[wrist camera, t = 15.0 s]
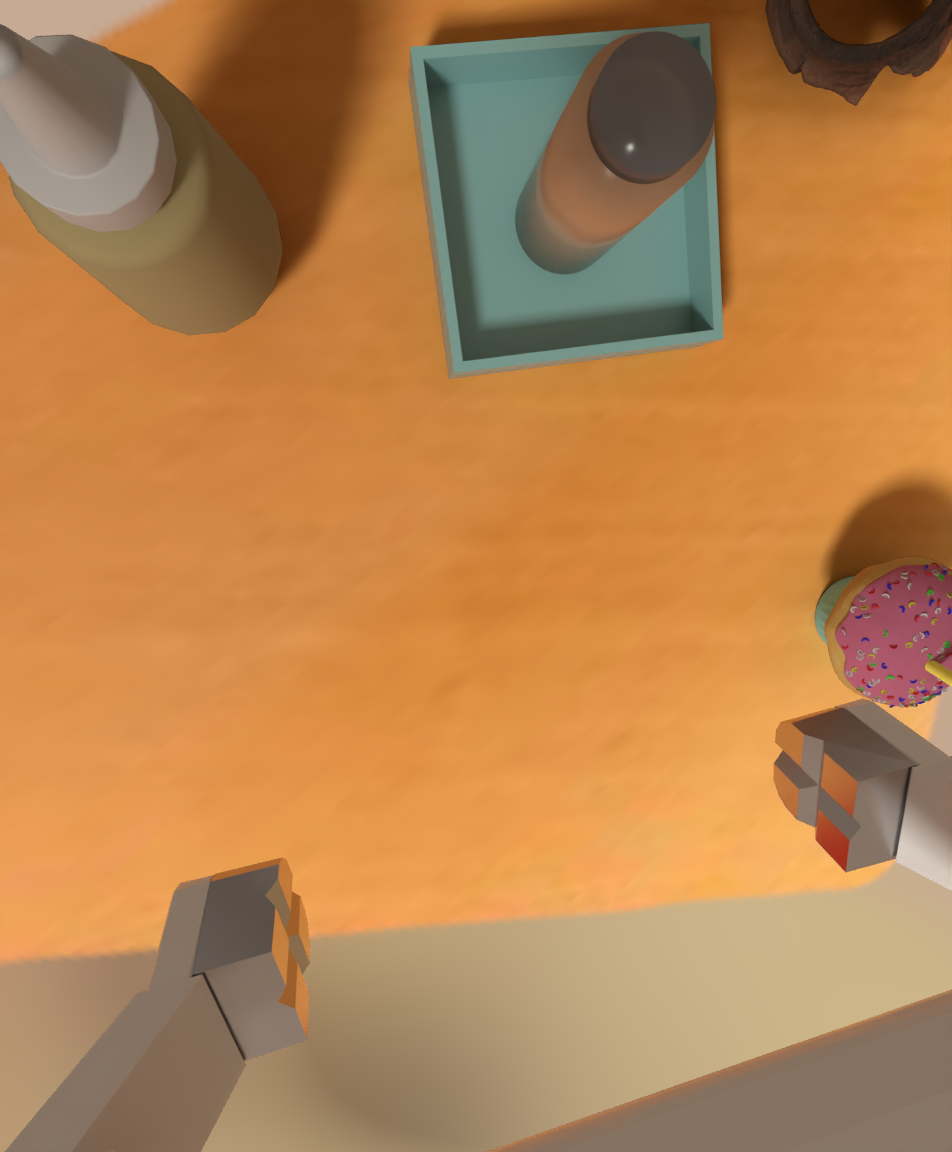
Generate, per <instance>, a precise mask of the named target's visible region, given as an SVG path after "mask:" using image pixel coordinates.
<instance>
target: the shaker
mask: <svg viewBox="0 0 952 1152" xmlns="http://www.w3.org/2000/svg"><path fill="white" fill-rule="evenodd" d="M715 109H716V95H715V87H714V82H713V79H712V76H711V73H710V70H709V68H708V66H707V64H706V62H705V61H704V59H703V57H702V56H701V55H700V53H699V52H698V51H697V50H696V49H695V48H694V47H693V46H692V45H691V44H690V43H688V42H687V41H686V40H684V39H683V38H681V37H679V36H677V35H674V34H671V33H668V32H661V31H651V32H638V33H632V34H628V35H625V36H622V37H620V38H618V39H616V40H614V41H612V42H610V43H609V44H607V45H606V46H605V47H603V48H602V49H601V50H600V51H599V52H598V53H597V54H596V55H595V56H594V57H593V59H592V60H591V61H590V62H589V64H588V66H587V67H586V69H585V70H584V72H583V74H582V76H581V78H580V80H579V82H578V84H577V86H576V88H575V90H574V91H573V93H572V95H571V97H570V99H569V101H568V103H567V105H566V107H565V109H564V111H563V113H562V115H561V117H560V118H559V120H558V122H557V124H556V126H555V128H554V130H553V132H552V134H551V136H550V138H549V140H548V142H547V143H546V145H545V147H544V149H543V151H542V153H541V155H540V157H539V159H538V161H537V163H536V165H535V167H534V169H533V170H532V172H531V174H530V176H529V178H528V180H527V182H526V184H525V186H524V188H523V190H522V192H521V194H520V196H519V199H518V202H517V206H516V211H515V227H516V233H517V236H518V240H519V242H520V244H521V247H522V248H523V250H524V252H525V253H526V254H527V256H528V257H529V258H530V259H531V260H532V261H533V262H534V263H535V264H536V265H538V266H539V267H540V268H542V269H544V270H546V271H549V272H551V273H555V274H563V275H565V274H574V273H578V272H580V271H583V270H585V269H587V268H588V267H590V266H591V265H593V264H594V263H595V262H596V261H597V260H599V259H600V258H601V257H602V256H603V255H604V254H605V253H607V252H608V251H609V250H610V249H611V248H612V247H613V246H615V245H616V244H617V243H618V242H619V241H620V240H622V239H623V238H624V237H625V236H626V235H627V234H628V233H630V232H631V231H632V230H633V229H634V228H635V227H636V226H638V225H639V224H640V223H641V222H642V221H643V220H645V219H646V218H647V217H648V216H649V215H650V214H651V213H653V212H654V211H655V210H656V209H657V208H658V207H660V206H661V205H662V204H663V203H664V202H665V201H666V200H668V199H669V198H670V197H671V196H672V195H673V194H674V193H676V192H677V191H678V190H679V189H680V188H681V187H683V186H684V185H685V184H686V183H687V182H688V181H689V180H690V179H691V178H692V177H693V176H694V175H695V174H696V172H697V171H698V170H699V168H700V167H701V165H702V164H703V162H704V160H705V158H706V156H707V154H708V152H709V149H710V146H711V143H712V139H713V135H714V129H715Z"/></svg>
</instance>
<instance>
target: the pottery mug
mask: <svg viewBox="0 0 952 1152" xmlns="http://www.w3.org/2000/svg"><path fill="white" fill-rule="evenodd" d="M766 14H767V19H768V24H769V28H770V31H771V35H772V38H773V41H774V44H775V46H776V49H777V51H778V53H779V55H780V57H781V59H782V60H783V61H784V63H785V65H786V67H787V69H788V70H789V71H790V73H792V74H797V73H799V72H801V71H802V78H803V81H804V82H805V83H807V84H809V85H811V86H814V87H818V88H824V89H827V90H831V91H833V92H835V93H837V94H839V95H841V96H843V97H844V98H845V99H846V101H848V102H849V103H851V104H853V105H857V104H858V103H859V101H860V99H861V98H862V96H863V95H864V94H865V92H866V91H867V90H868V88H869V87H870V85H871V84H872V82H873V81H874V79H875V78H876V76H877V75H878V74H879V72H880V71H881V70H882V69H883V68H884V67H885V66H887V65H888V66H890V68H891V69H892V71H893V72H894V73H898V74H901V75H904V74H909V73H912V76H914V77H917V76H920V75H922V74H923V73H924V72H926V71H929V70H930V69H931V68H932V67H933V66H934V65H935V64H936V62H937V61H938V60H939V59H940V57H941V56H942V54H943V53H944V51H945V50H946V48H947V46H948V44H949V42H950V40H951V39H952V0H932V3H931V4H930V5H929V6H928V8H927V9H926V10H925V11H924V12H923V13H922V14H921V15H920V16H919V17H918V18H917V19H916V20H915V21H914V22H912V23H911V24H910V25H909V26H907V27H906V28H905V29H903V30H902V31H900V32H899V33H897V34H895V35H893V36H891V37H889V38H887V39H886V40H884V41H882V42H878V43H873V44H867V45H864V44H859V45H853V44H846V43H842V42H838V41H836V40H835V39H833V38H831V37H830V36H828V35H827V34H826V33H825V32H824V31H823V30H822V29H821V28H820V27H819V24H818V23H817V22H816V20H815V18H814V16H813V14H812V12H811V8H810V5H809V0H767V4H766Z"/></svg>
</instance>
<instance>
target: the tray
mask: <svg viewBox="0 0 952 1152" xmlns="http://www.w3.org/2000/svg"><path fill="white" fill-rule="evenodd" d="M651 31H661V32H668V33H671V34H674V35H677V36H679V37H681V38H683V39H684V40H686V41H687V42H688V43H690V44H691V45H692V46H693V47H694V48H695V49H696V50H697V51H698V52H699V53H700V55H701V56H702V57H703V59H704V61H705V62H706V64H707V66H708V68H709V70H710V73H711V76H712V65H711V42H710V23H703V24H691V25H679V26H666V27H654V28H641V29H629V30H616V31H604V32H591V33H579V34H566V35H554V36H541V37H529V38H516V39H504V40H492V41H479V42H467V43H454V44H442V45H429V46H417V47H410V70H409V87H410V95H411V102H412V109H413V117H414V124H415V131H416V139H417V146H418V153H419V161H420V168H421V175H422V183H423V190H424V198H425V205H426V212H427V220H428V227H429V234H430V242H431V249H432V256H433V264H434V271H435V278H436V286H437V293H438V300H439V308H440V315H441V323H442V330H443V337H444V345H445V352H446V359H447V367H448V374H449V379H451V378H459V377H466V376H474V375H482V374H490V373H497V372H505V371H513V370H521V369H529V368H536V367H544V366H552V365H560V364H568V363H575V362H583V361H591V360H599V359H606V358H614V357H622V356H630V355H638V354H645V353H653V352H661V351H669V350H677V349H684V348H692V347H698V346H701V345H705V344H708V343H711V342H715V341H718V340H721V339H723V317H722V294H721V271H720V248H719V225H718V202H717V179H716V157H715V134H714V135H713V139H712V143H711V146H710V149H709V152H708V154H707V156H706V158H705V160H704V162H703V164H702V165H701V167H700V168H699V170H698V171H697V172H696V174H695V175H694V176H693V177H692V178H691V179H690V180H689V181H688V182H687V183H686V184H685V185H684V186H683V187H681V188H680V189H679V190H678V191H677V192H676V193H674V194H673V195H672V196H671V197H670V198H669V199H668V200H666V201H665V202H664V203H663V204H662V205H661V206H660V207H658V208H657V209H656V210H655V211H654V212H653V213H651V214H650V215H649V216H648V217H647V218H646V219H645V220H643V221H642V222H641V223H640V224H639V225H638V226H636V227H635V228H634V229H633V230H632V231H631V232H630V233H628V234H627V235H626V236H625V237H624V238H623V239H622V240H620V241H619V242H618V243H617V244H616V245H615V246H613V247H612V248H611V249H610V250H609V251H608V252H607V253H605V254H604V255H603V256H602V257H601V258H600V259H599V260H597V261H596V262H595V263H594V264H593V265H591V266H590V267H588V268H587V269H585V270H583V271H580V272H578V273H574V274H565V275H563V274H555V273H551V272H549V271H546V270H544V269H542V268H540V267H539V266H538V265H536V264H535V263H534V262H533V261H532V260H531V259H530V258H529V257H528V256H527V254H526V253H525V252H524V250H523V248H522V247H521V244H520V242H519V240H518V236H517V233H516V227H515V211H516V206H517V202H518V199H519V196H520V194H521V192H522V190H523V188H524V186H525V184H526V182H527V180H528V178H529V176H530V174H531V172H532V170H533V169H534V167H535V165H536V163H537V161H538V159H539V157H540V155H541V153H542V151H543V149H544V147H545V145H546V143H547V142H548V140H549V138H550V136H551V134H552V132H553V130H554V128H555V126H556V124H557V122H558V120H559V118H560V117H561V115H562V113H563V111H564V109H565V107H566V105H567V103H568V101H569V99H570V97H571V95H572V93H573V91H574V90H575V88H576V86H577V84H578V82H579V80H580V78H581V76H582V74H583V72H584V70H585V69H586V67H587V66H588V64H589V62H590V61H591V60H592V59H593V57H594V56H595V55H596V54H597V53H598V52H599V51H600V50H601V49H602V48H603V47H605V46H606V45H607V44H609V43H610V42H612V41H614V40H616V39H618V38H620V37H622V36H625V35H628V34H632V33H638V32H651Z"/></svg>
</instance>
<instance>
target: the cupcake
mask: <svg viewBox="0 0 952 1152" xmlns="http://www.w3.org/2000/svg"><path fill="white" fill-rule="evenodd" d="M815 624H816V628H817V631H818V634H819V635H820V637H821V638H822V640H823V641H824V642H825V643H826V644H827V645H828V651H829V655H830V659H831V662H832V666H833V668H834V671H835V673H836V674H837V676H838V678H839V679H840V680H841V682H842V683H843V684H844V685H845V686H847V687H848V688H849V689H850V690H852V691H853V692H855V693H857V694H858V695H860V696H862V697H865V698H867V699H869V700H872V701H874V702H879V703H882V704H886V705H891V706H890V708H891V707H893V706H900V707H901V708H904V707H907V708H908V706H909V707H917V706H918V705H917V704H921V703H924V702H925V701H926V702H927V701H930V700H931V699H932V698H935V696H939V695H941V691H942V692H945V691H947V690H948V687H949V686H952V570H950V569H948V568H947V567H945V566H944V565H942V564H941V563H939V562H937V561H935V560H932V559H929V558H925V557H920V556H911V557H903V558H897V559H893V560H891V561H888V562H886V563H883V564H878V565H872V566H869V567H866V568H865V569H864V570H862V571H861V572H860V573H858V574H857V575H856V576H851V577H846V578H843V579H841V580H839V581H837V582H835V583H834V584H833V585H831V586H830V587H829V588H828V589H827V590H826V591H825V592H824V594H823V595H822V597H821V598H820V600H819V602H818V605H817V608H816V613H815ZM921 701H923V702H921ZM916 703H917V704H916ZM914 704H915V705H916V706H914ZM910 705H911V706H910ZM903 706H904V707H903Z"/></svg>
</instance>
